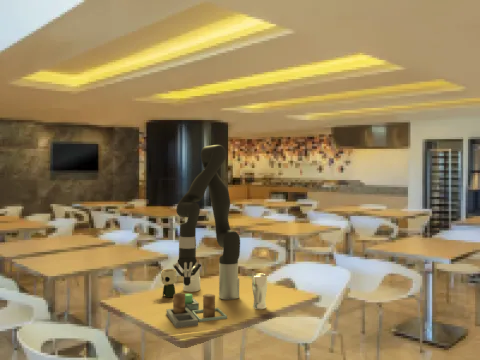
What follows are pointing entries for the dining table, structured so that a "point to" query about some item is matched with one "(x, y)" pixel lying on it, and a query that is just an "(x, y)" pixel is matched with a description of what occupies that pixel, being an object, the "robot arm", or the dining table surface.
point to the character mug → (169, 281)
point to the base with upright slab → (193, 283)
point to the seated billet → (178, 303)
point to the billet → (208, 305)
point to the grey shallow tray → (182, 318)
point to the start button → (188, 298)
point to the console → (192, 305)
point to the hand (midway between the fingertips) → (186, 285)
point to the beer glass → (259, 290)
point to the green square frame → (210, 317)
